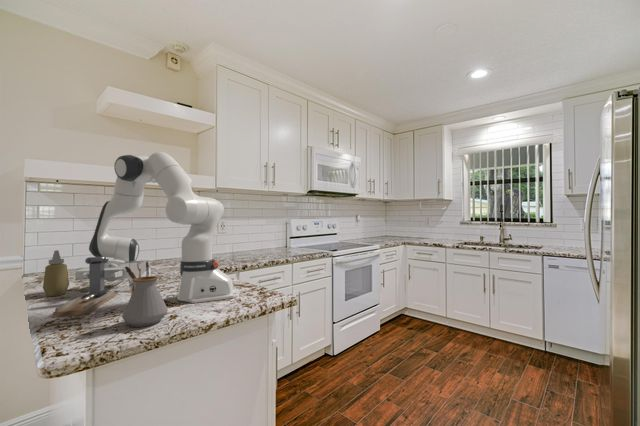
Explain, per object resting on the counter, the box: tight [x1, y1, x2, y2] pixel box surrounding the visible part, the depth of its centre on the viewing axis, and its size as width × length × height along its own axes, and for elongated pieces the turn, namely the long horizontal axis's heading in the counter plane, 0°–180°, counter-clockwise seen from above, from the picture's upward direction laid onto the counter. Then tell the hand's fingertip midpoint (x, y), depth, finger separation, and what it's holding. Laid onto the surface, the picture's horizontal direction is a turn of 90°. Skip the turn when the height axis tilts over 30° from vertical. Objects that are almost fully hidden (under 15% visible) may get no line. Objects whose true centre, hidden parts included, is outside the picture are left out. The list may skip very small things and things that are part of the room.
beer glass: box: [127, 259, 152, 296], centre depth 107 cm, size 7×7×15 cm
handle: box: [83, 256, 110, 302], centre depth 109 cm, size 7×12×14 cm, turn 16°
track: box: [52, 289, 117, 318], centre depth 105 cm, size 9×24×2 cm, turn 16°
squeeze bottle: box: [42, 250, 70, 297], centre depth 121 cm, size 8×8×18 cm
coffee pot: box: [121, 266, 168, 328], centre depth 90 cm, size 21×12×15 cm, turn 51°
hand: (99, 276), depth 114 cm, fingers open, 8 cm apart
